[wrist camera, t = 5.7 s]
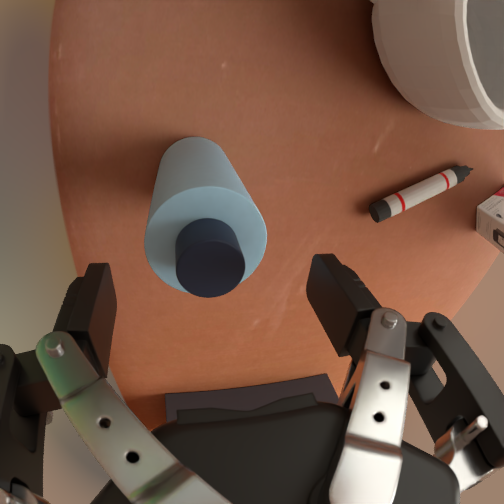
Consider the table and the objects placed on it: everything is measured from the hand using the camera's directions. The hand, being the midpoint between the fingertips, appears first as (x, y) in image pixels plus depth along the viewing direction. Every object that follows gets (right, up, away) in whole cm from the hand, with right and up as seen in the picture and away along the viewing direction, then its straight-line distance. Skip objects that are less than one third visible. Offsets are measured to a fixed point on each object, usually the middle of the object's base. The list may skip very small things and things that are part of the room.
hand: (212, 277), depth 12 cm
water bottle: (-3, +7, +12) cm, 15 cm away
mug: (+17, +22, +8) cm, 29 cm away
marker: (+20, +8, +18) cm, 28 cm away
